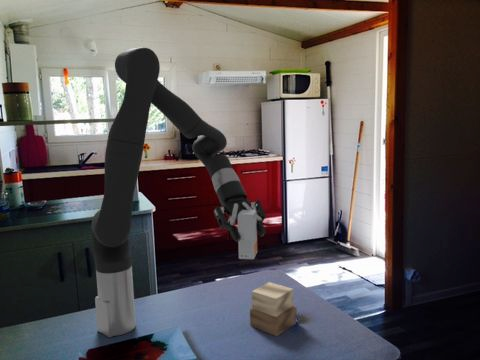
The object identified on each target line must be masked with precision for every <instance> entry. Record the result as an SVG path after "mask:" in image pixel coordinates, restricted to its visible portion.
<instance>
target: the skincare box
mask: <svg viewBox="0 0 480 360" xmlns="http://www.w3.org/2000/svg"><path fill="white" fill-rule="evenodd" d="M237 229H238V232H239V234H240V236H241V238H240V240H239V241H237V243H238V247H237V248H238V250H237V251H238V259H239V260H255V257H256V255H257V253H258V231H257V217H256V210H242V211H241V212H239V214H238V220H237Z"/></svg>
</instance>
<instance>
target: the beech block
mask: <svg viewBox="0 0 480 360" xmlns="http://www.w3.org/2000/svg"><path fill="white" fill-rule="evenodd" d="M293 306H294V288H291V287H288V286H284V285H280V284H278V283H274V282H271V281H268V282H266V283H265V284H263V285H261V286H259V287H258V288H256V289H253V290H252V291H251V308H252V309H254V310H257V311H260V312H263V313H265V314H268V315H271V316H274V317H277V316H279V315H281V314H282V313H284V312H285V311H287V310H288V309H290V308H291V307H293Z"/></svg>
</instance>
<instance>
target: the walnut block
mask: <svg viewBox="0 0 480 360" xmlns="http://www.w3.org/2000/svg"><path fill="white" fill-rule="evenodd" d="M297 309H298V308H297V306H296V305H293V307H291V308H290V309H288V310H287V311H285V312H284V313H282V314H281V315H279V316H277V317H274V316H271V315H268V314H265V313H263V312H260V311H257V310H254V309H252V307H251V308H249V322H250V324H249V325H250V326H251V327H253V328H256V329H258V330H260V331H263V332H266V333H268V334H271V335H273V336H275V337H278V336H279V335H280V334H282V333H284V332H286V331H287V330H288V329H291V328H292V327H293V326H294V325H297V323H296V320H298V319H297V311H298V310H297Z"/></svg>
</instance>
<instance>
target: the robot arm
mask: <svg viewBox="0 0 480 360" xmlns="http://www.w3.org/2000/svg"><path fill="white" fill-rule="evenodd" d="M160 67H161V65H160V60H159V58H158V55H157V54H156V53H155V51H153V50H152V49H151V48H149V47H144V46H143V47H134V48H130V49H126V50H123V51H121V52H120V53H119V54H118V55H117V57H115V60H114V69H115V73H116V75H117V76H118V78H119V79H120V81H122V82H123V83H124V84H125V88H124V95H123V99H122V103H121V105H120V106H119V109H118V112H117V114H116V115H115V118H114V119H113V122H112V123H111V125H110V128H109V131H108V135H107V140H106V146H105V147H106V148H105V152H104V153H105V154H104V190H103V191H104V193H103V196H102V197H103V198H102V202H101V205H100V209H99V210H98V211H96V212H95V214H94V215H93V217H92V219H91V239H92V247H93V258H94V266H95V274H96V275H95V276H96V285H97V286H96V287H97V296H95V298H94V302H95V315H96V316H95V317H96V328H97V329H96V330H97V331H98V332H100V333H101V334H103V335H104V336H106V337H108V338H112V337H114V336H121V335H125V334H127V333H130V332H131V331H133V330H134V329H135V328H136V324H137V323H136V310H135V293H134V281H133V278H134V277H133V265H132V264H133V263H132V256H131V254H132V253H131V250H130V244H129V236H130V234H131V231H132V218H133V217H132V216H133V215H132V214H133V204H134V195H135V189H136V186H137V183H138V181H137V180H138V178H139V172H140V169H141V163H142V159H143V153H144V148H145V140H146V135H147V133H146V132H147V128H148V123H149V117H150V110H151V105H153V106H154V107H155V108H156V109H157V110H158V111H159V112H160V113H162V115H163V116H165V117H166V118H167V120H169V121H170V123H172V125H173V126H175V128H176V129H177V130H178V131H179V132H180V133H181V134H182V135H183V136H184V137H185V138H186V139H194V138H196V137H198V138H197V139H196V140H194V142H193V144H192V146H191V148H192V152H193V154H194V155H195V156H196V158H197V159H198V160H199V161H200V162H201V163H202V165H204V167H205V169H206V170H207V172H208V174H209V177H210V179H211V181H212V185H213V189H214V191H215V193H216V196H217V198H218V200H219V203H220V204H221V206H220V205H217V206H216V207H215V209H214V210H213V214H214V217H215V219H216V221H217V224H218V225H219V227H220V229H221V230H225V229H226V230H228V231H229V233H230V236H231V238H232V239H233V240H234V241H235V242H236V243H238V241H239V240H240V238H241V236H240V234H239V232H238V226H237V225H236V224H235V223H236V221H238V214H239V212H241V211H242V210H256V217H257V234H258V235H259V237H264V235H265V234H266V231H267V230H266V228H265V227H266V226H264V224H263V222H264V221H265V219H266V218H267V214H266V212H265V209H264V207H263V205H262V203H261V200H259V199H257V200H256V201H253V202H251V201H250V200H249V198H248V196H247V193H246V190H245V188H244V186H243V184H242V182H241V180H240V178H239V176H238V174H237V173H236V172H235V170H234V167H233V165H232V163H231V161H230V159H229V158H228V156H227V155H225V154H219V153H220V152H221V151H223V150H225V148H226V147H227V145H228V142H227V141H228V140H227V138H226V136H225V135H224V133H223V132H221V130H219V129H218V128H216V127H215V126H212V125H210V124H209V123H208V122H206V121H205V120H203V119H202V117H200V116H199V114H198V113H197V112H196V111H195V110H194V109H193V108H192V107H191V106H190V105H189V104H188V103H187V102H186V101H185V100H183V99H182V98H180V97H179V96H178V95H176V93H174V92H172V91H170V90H169V89H168V88H167V87H166V86H165V85H164V84H162V83H161V82H160V80H159V76H160V71H161V70H160ZM225 214H226V215H227V216H228V220H227V219H226V216H225Z"/></svg>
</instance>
